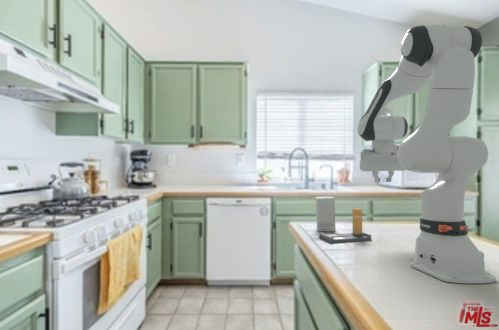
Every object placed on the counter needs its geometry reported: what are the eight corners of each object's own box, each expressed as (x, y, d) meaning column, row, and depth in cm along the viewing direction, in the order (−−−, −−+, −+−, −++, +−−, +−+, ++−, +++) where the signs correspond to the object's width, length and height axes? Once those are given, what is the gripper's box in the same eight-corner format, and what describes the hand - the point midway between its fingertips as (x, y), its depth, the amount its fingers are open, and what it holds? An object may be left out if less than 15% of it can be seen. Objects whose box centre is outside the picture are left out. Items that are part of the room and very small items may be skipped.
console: (357, 235, 151) (357, 230, 151) (371, 240, 141) (371, 234, 141) (319, 238, 146) (319, 232, 146) (330, 243, 137) (330, 237, 137)
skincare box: (333, 229, 166) (333, 196, 166) (335, 231, 159) (335, 197, 159) (315, 229, 167) (315, 196, 166) (317, 231, 160) (316, 197, 160)
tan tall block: (358, 233, 147) (358, 208, 147) (363, 235, 144) (363, 209, 144) (351, 234, 146) (351, 208, 146) (355, 235, 143) (355, 209, 143)
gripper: (365, 148, 141) (365, 183, 141) (408, 148, 146) (408, 181, 146) (356, 149, 147) (356, 182, 147) (398, 149, 152) (399, 181, 152)
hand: (383, 182), depth 146 cm, fingers open, 4 cm apart
